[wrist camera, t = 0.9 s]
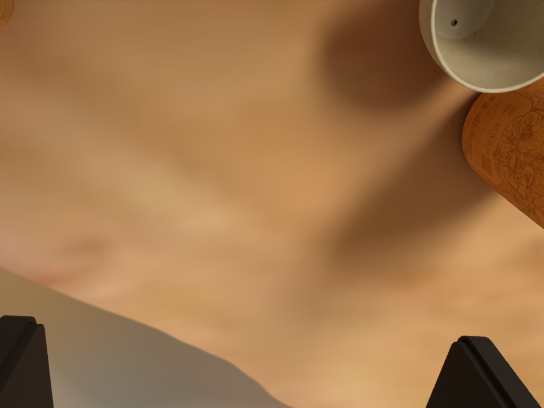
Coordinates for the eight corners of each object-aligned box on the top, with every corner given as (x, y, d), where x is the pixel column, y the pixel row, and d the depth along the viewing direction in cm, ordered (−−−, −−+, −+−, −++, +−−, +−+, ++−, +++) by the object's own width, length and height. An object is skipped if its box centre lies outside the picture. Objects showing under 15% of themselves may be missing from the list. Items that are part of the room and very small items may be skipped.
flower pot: (387, 79, 33) (424, 101, 27) (393, -73, 29) (438, -89, 23) (513, 66, 34) (579, 84, 27) (538, -87, 29) (623, -107, 23)
